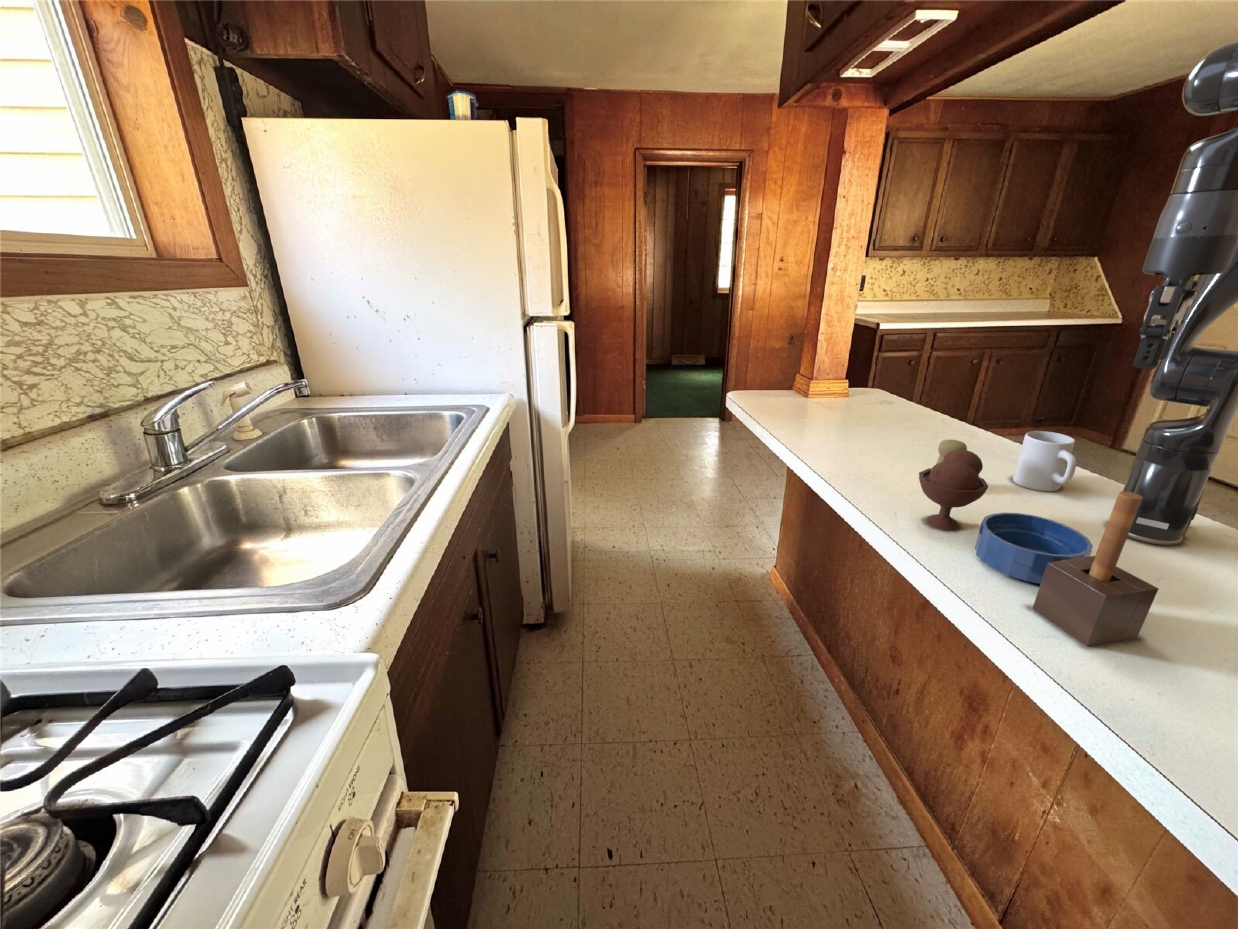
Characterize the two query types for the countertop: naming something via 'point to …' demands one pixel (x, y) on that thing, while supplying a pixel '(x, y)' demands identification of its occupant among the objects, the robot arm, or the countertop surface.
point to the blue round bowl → (1027, 544)
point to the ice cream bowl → (952, 486)
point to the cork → (949, 448)
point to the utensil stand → (1093, 601)
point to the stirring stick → (1115, 535)
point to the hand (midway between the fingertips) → (1149, 363)
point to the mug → (1045, 461)
